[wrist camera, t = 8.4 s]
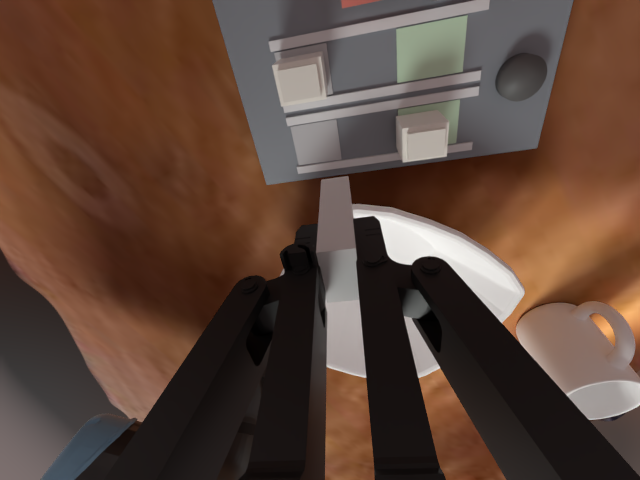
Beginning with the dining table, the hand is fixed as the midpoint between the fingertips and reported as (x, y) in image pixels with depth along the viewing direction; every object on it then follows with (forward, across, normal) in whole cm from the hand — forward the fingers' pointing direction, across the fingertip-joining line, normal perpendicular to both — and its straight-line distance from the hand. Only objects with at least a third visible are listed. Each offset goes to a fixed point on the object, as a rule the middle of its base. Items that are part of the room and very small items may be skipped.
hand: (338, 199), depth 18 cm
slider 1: (+9, -2, +5) cm, 10 cm away
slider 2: (+9, +6, 0) cm, 11 cm away
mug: (+12, +24, -26) cm, 38 cm away
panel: (+12, +4, +6) cm, 14 cm away
